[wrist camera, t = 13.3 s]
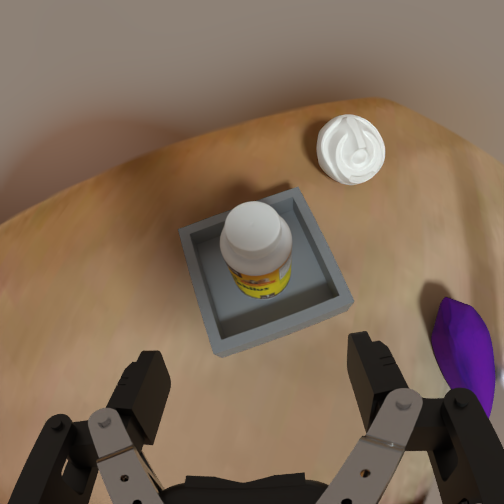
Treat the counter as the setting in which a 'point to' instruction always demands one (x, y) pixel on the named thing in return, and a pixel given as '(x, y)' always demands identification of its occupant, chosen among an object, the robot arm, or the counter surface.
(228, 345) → the tray
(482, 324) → the crystal
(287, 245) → the supplement bottle
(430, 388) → the counter surface
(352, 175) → the white swirled ball
